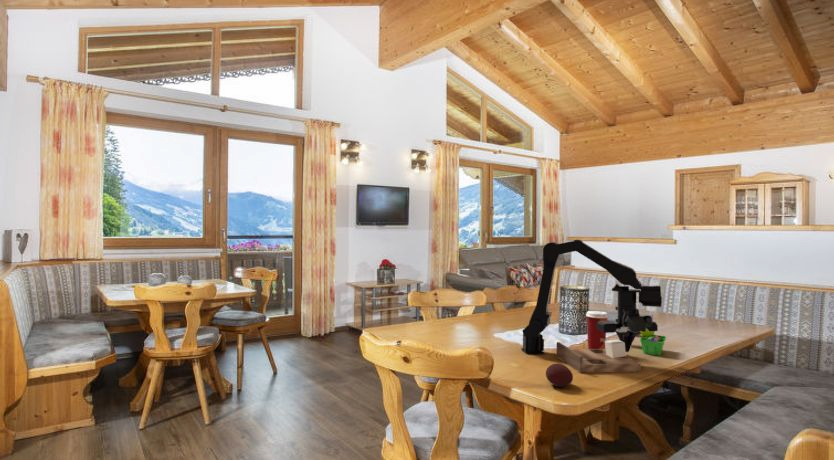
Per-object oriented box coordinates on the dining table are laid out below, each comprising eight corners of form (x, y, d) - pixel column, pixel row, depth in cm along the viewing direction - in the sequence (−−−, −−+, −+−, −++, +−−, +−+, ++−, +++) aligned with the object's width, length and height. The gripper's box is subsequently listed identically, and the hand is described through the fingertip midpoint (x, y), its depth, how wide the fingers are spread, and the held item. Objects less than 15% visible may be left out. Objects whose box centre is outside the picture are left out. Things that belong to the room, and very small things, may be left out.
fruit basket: (663, 357, 169) (663, 324, 169) (635, 353, 174) (636, 321, 174) (666, 350, 179) (666, 319, 179) (640, 346, 183) (640, 316, 183)
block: (612, 358, 158) (611, 344, 158) (606, 354, 162) (604, 341, 162) (625, 356, 158) (624, 342, 158) (618, 352, 163) (617, 339, 163)
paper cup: (609, 354, 171) (610, 314, 171) (586, 352, 173) (587, 313, 173) (605, 348, 179) (606, 311, 179) (583, 347, 180) (584, 310, 180)
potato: (543, 388, 135) (544, 366, 135) (547, 378, 143) (547, 358, 143) (571, 392, 132) (572, 370, 132) (573, 382, 141) (574, 361, 140)
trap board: (579, 372, 149) (580, 356, 149) (556, 356, 167) (556, 342, 167) (640, 371, 152) (640, 355, 152) (610, 355, 170) (610, 341, 170)
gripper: (613, 310, 151) (612, 359, 152) (668, 308, 154) (668, 357, 154) (595, 304, 162) (595, 350, 163) (647, 302, 165) (647, 348, 165)
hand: (626, 351), depth 161 cm, fingers closed
